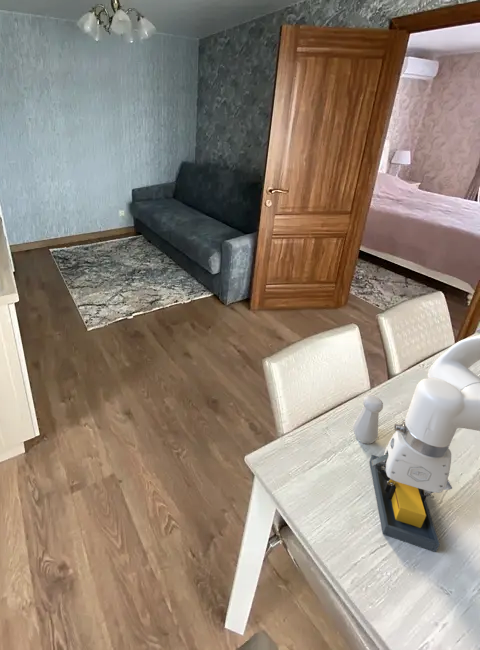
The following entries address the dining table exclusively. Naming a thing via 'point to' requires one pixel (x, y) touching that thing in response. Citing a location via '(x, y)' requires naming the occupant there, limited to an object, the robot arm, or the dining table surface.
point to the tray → (398, 529)
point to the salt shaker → (368, 420)
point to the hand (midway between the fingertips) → (401, 496)
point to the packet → (408, 505)
